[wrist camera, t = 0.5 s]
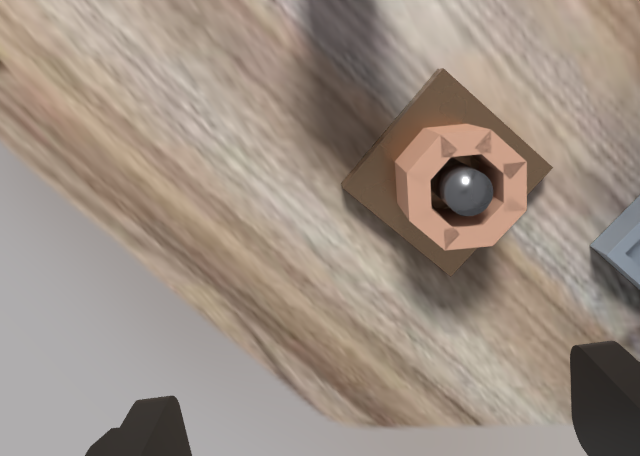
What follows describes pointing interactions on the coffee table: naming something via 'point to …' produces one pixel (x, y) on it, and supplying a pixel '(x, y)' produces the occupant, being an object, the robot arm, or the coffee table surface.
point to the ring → (493, 162)
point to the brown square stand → (451, 180)
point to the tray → (623, 243)
